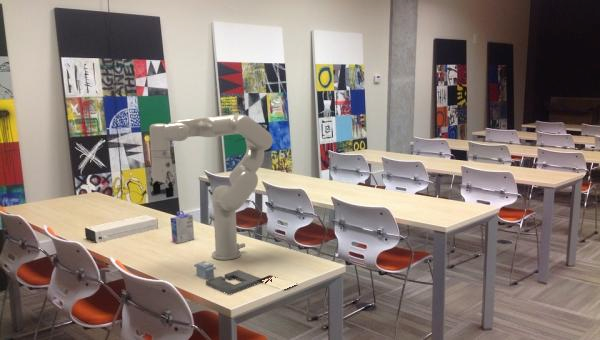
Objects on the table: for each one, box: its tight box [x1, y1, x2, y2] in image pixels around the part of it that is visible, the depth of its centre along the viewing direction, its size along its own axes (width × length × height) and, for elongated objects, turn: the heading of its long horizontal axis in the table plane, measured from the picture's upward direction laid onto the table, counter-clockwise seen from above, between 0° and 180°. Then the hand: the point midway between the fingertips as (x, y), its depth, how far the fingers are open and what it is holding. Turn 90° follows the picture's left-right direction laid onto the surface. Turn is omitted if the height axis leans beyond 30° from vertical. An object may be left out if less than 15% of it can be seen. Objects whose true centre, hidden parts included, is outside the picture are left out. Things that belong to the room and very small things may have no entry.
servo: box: [193, 260, 217, 280], centre depth 207 cm, size 4×9×6 cm, turn 46°
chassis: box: [205, 269, 263, 295], centre depth 198 cm, size 16×14×2 cm
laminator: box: [84, 214, 159, 244], centre depth 266 cm, size 34×12×6 cm, turn 136°
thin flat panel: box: [261, 274, 298, 292], centre depth 199 cm, size 7×1×15 cm
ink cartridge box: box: [170, 210, 195, 244], centre depth 253 cm, size 10×6×14 cm, turn 137°
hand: (163, 195), depth 213 cm, fingers open, 9 cm apart
